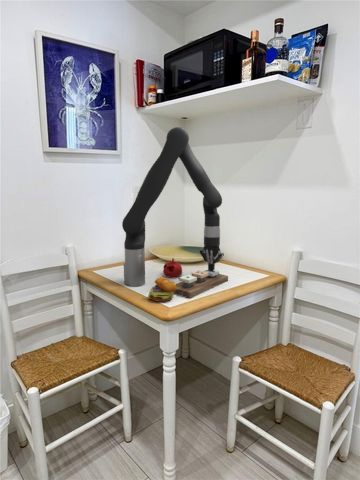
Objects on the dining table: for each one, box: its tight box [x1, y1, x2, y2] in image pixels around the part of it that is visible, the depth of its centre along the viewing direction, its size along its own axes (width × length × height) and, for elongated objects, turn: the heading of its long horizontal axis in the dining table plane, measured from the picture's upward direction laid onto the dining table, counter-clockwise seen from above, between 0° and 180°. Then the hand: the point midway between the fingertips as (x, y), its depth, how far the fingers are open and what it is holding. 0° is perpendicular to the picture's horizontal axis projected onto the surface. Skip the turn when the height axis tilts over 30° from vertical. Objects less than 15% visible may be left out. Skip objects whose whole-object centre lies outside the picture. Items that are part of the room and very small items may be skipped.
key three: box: [203, 269, 220, 278], centre depth 160 cm, size 6×6×4 cm
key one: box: [178, 274, 197, 288], centre depth 146 cm, size 6×6×4 cm
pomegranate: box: [162, 257, 183, 279], centre depth 168 cm, size 10×10×9 cm
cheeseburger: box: [148, 276, 177, 303], centre depth 138 cm, size 10×11×10 cm
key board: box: [174, 273, 229, 299], centre depth 153 cm, size 12×30×2 cm, turn 141°
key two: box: [191, 270, 209, 283], centre depth 153 cm, size 6×6×4 cm
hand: (211, 270), depth 159 cm, fingers closed
